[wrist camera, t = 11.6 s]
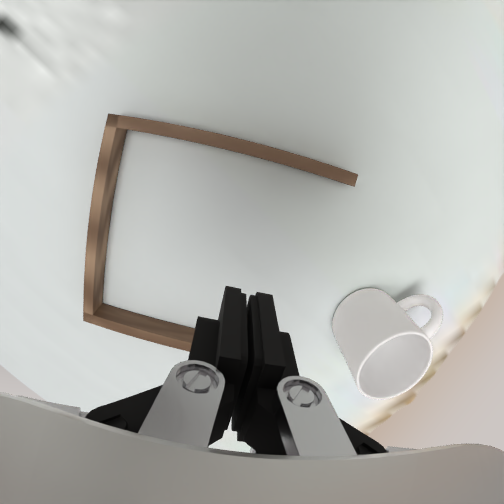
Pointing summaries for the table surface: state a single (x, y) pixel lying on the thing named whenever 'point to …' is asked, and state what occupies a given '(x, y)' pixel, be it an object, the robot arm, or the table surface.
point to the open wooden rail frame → (102, 210)
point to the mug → (385, 341)
